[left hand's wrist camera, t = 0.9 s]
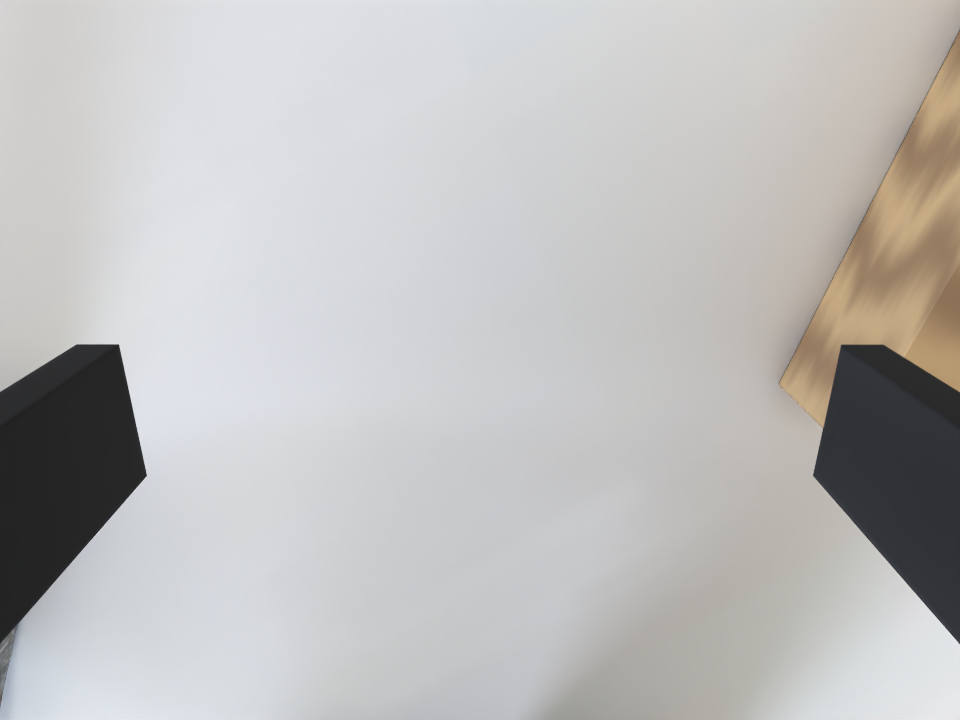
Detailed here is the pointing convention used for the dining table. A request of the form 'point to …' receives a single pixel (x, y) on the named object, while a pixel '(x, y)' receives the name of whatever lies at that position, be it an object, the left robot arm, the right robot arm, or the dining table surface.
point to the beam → (898, 261)
